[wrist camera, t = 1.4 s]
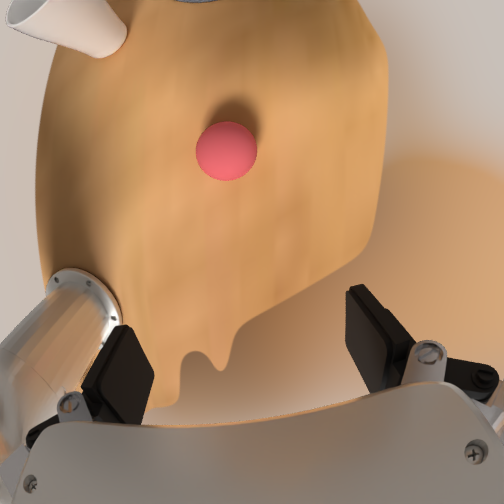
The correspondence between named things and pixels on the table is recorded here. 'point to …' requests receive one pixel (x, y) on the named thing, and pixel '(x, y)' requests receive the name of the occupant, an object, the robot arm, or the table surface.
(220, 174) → the ball
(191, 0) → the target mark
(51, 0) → the drinking glass
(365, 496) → the robot arm
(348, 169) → the table surface
